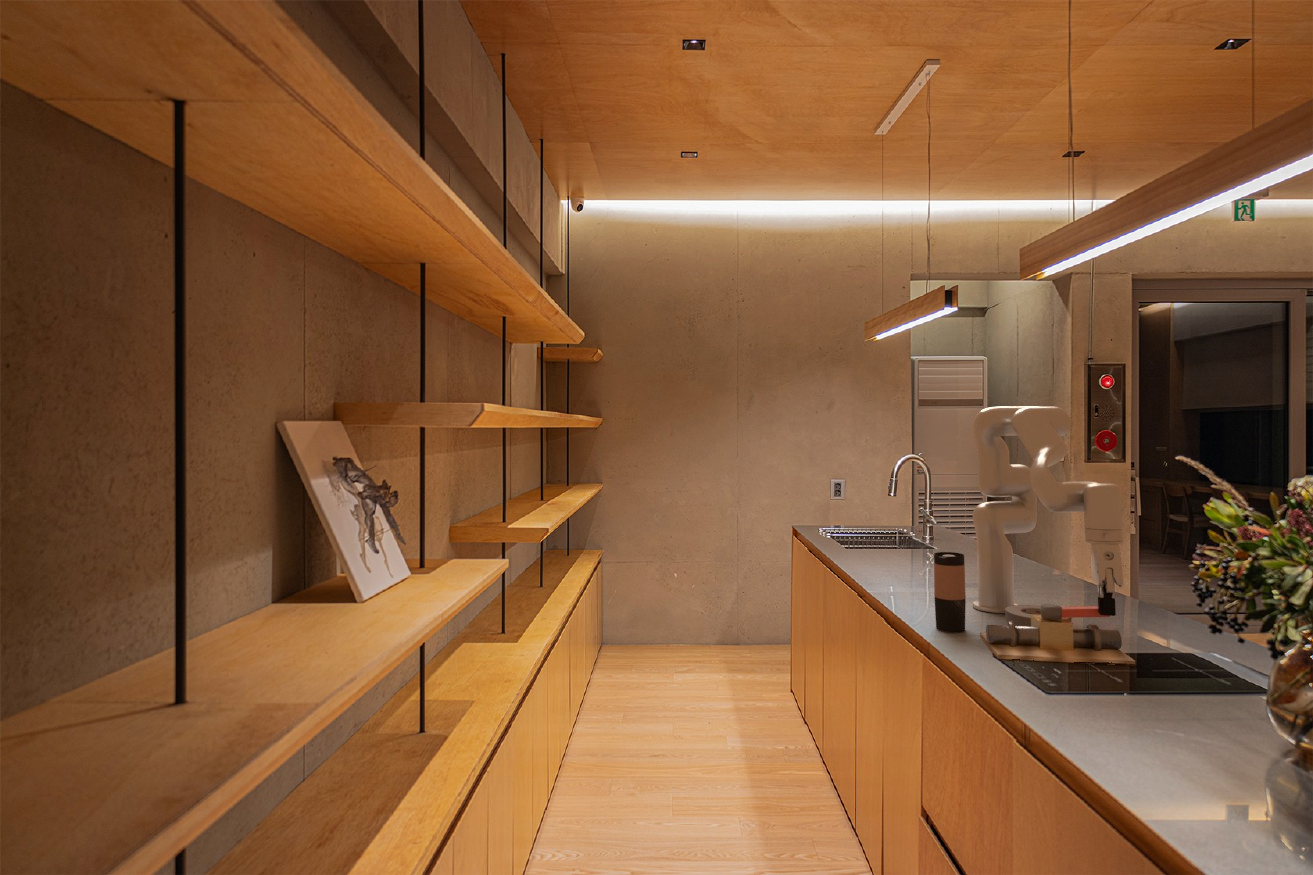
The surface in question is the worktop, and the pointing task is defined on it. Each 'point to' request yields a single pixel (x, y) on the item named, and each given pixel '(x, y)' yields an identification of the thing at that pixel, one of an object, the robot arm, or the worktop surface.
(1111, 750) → the worktop surface
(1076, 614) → the lever
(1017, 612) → the tape roll
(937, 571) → the travel mug
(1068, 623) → the valve
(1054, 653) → the mount board
